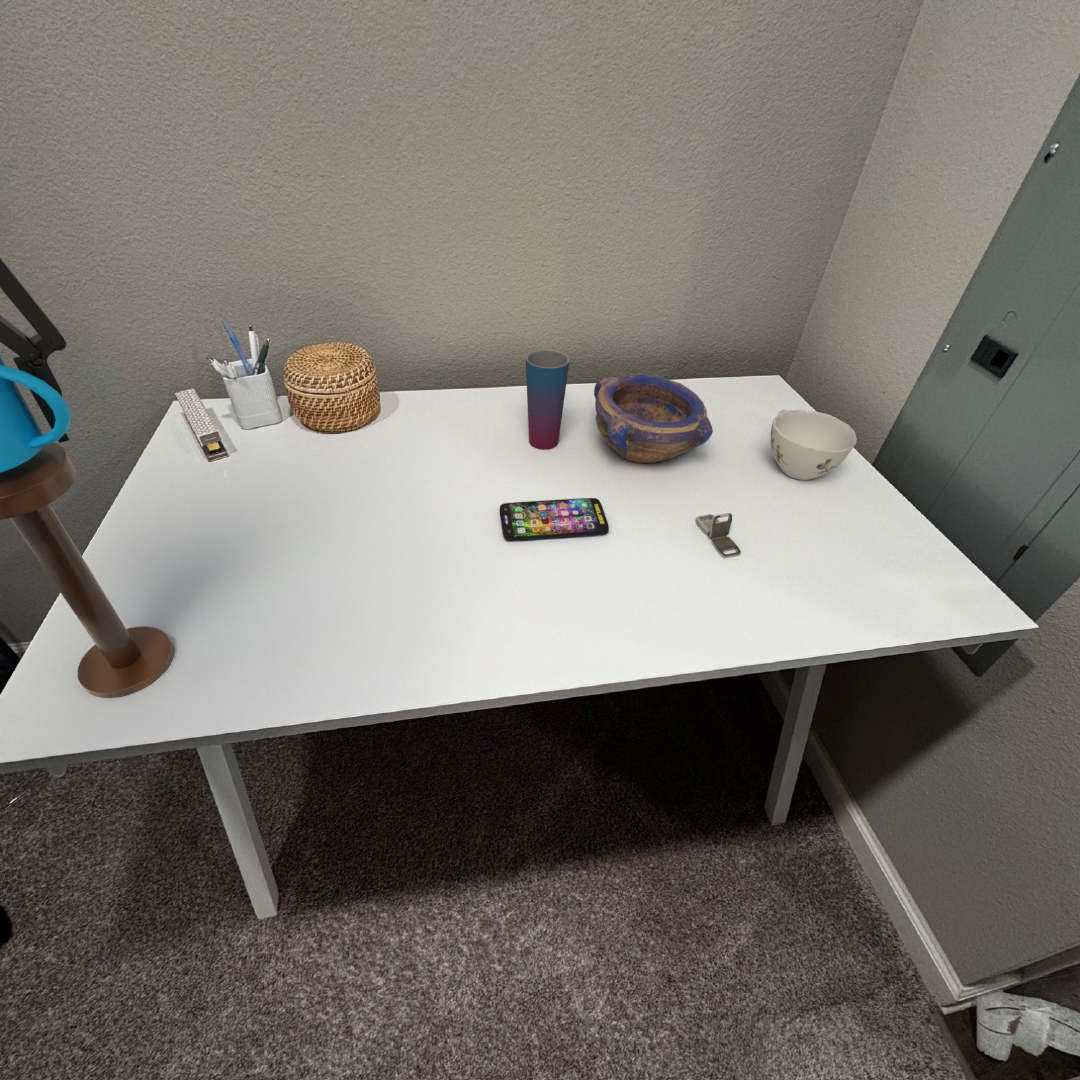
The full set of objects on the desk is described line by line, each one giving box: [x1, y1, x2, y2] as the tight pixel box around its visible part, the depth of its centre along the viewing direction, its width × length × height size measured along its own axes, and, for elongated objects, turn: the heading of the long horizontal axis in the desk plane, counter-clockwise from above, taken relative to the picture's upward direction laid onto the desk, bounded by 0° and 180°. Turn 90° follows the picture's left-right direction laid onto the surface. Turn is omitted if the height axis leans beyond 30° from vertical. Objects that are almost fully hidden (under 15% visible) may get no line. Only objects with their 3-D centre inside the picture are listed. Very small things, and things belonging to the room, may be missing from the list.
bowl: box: [593, 373, 714, 464], centre depth 102 cm, size 18×18×10 cm
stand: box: [0, 442, 174, 699], centre depth 60 cm, size 9×9×26 cm
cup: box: [525, 348, 571, 450], centre depth 101 cm, size 7×7×15 cm
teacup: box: [770, 408, 858, 481], centre depth 100 cm, size 15×12×8 cm
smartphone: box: [499, 497, 610, 542], centre depth 89 cm, size 8×1×15 cm
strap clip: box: [695, 512, 742, 558], centre depth 87 cm, size 8×3×4 cm, turn 17°
